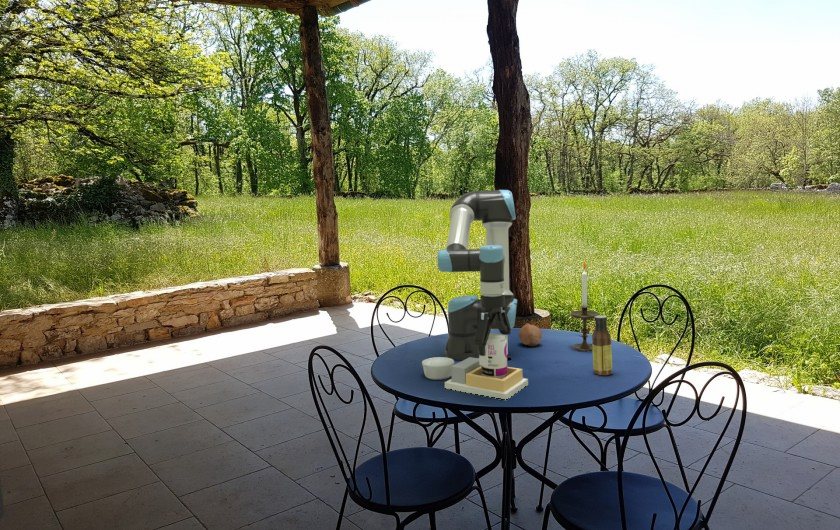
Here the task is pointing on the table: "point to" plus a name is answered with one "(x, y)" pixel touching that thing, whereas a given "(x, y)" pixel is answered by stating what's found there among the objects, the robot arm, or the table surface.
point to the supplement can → (496, 357)
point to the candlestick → (584, 316)
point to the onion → (530, 335)
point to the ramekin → (438, 367)
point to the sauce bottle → (601, 347)
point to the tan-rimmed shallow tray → (484, 380)
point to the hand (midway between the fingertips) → (494, 359)
